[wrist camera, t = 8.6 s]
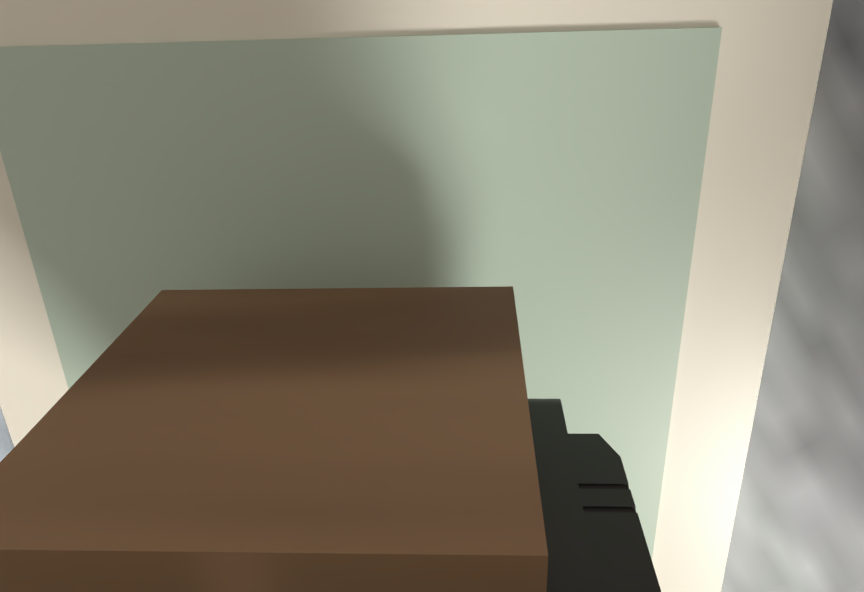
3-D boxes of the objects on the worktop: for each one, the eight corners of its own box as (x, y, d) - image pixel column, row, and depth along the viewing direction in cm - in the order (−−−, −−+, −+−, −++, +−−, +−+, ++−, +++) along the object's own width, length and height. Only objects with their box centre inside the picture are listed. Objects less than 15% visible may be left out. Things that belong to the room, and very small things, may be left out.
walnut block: (162, 290, 10) (-80, 548, 6) (513, 286, 10) (547, 555, 5) (217, 554, 12) (71, 895, 8) (508, 557, 12) (531, 913, 8)
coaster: (-127, -60, 11) (-163, -60, 10) (831, -95, 10) (855, -98, 9) (90, 609, 17) (74, 635, 16) (702, 621, 16) (711, 649, 15)
